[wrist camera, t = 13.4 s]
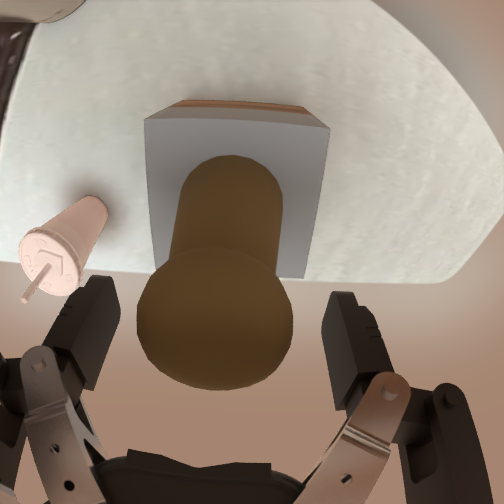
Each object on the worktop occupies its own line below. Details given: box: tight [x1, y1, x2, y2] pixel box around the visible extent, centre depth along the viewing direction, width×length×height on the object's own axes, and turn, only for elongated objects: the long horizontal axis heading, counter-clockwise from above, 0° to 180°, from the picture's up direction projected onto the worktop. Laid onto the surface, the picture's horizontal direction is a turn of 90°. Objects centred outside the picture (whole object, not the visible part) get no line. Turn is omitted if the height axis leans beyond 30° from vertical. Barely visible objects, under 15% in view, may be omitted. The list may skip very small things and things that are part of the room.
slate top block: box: [144, 107, 330, 279], centre depth 20 cm, size 10×10×5 cm
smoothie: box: [18, 196, 108, 303], centre depth 23 cm, size 6×6×14 cm
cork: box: [137, 155, 293, 390], centre depth 13 cm, size 6×6×11 cm
